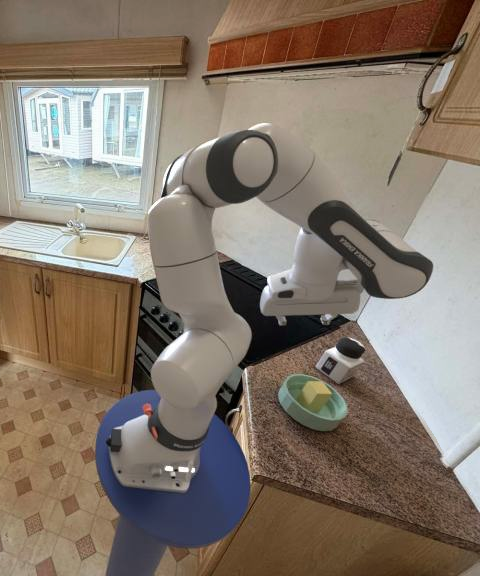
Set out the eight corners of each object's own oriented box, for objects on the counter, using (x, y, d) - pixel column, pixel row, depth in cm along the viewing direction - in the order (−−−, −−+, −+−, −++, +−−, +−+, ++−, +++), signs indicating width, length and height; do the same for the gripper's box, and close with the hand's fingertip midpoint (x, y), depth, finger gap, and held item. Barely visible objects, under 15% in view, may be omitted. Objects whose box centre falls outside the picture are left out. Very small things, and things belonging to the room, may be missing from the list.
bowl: (300, 434, 81) (309, 422, 78) (266, 387, 93) (273, 375, 90) (351, 430, 83) (362, 417, 80) (311, 385, 95) (319, 372, 92)
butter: (304, 412, 86) (317, 393, 82) (295, 399, 89) (307, 381, 85) (318, 412, 86) (332, 393, 82) (309, 399, 90) (322, 381, 85)
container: (338, 384, 96) (360, 354, 89) (314, 367, 102) (333, 337, 95) (352, 377, 99) (374, 347, 92) (328, 360, 105) (347, 331, 98)
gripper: (361, 270, 70) (346, 313, 78) (260, 277, 77) (257, 315, 85) (373, 288, 65) (356, 331, 74) (265, 293, 72) (261, 333, 80)
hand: (302, 323), depth 79 cm, fingers open, 8 cm apart
